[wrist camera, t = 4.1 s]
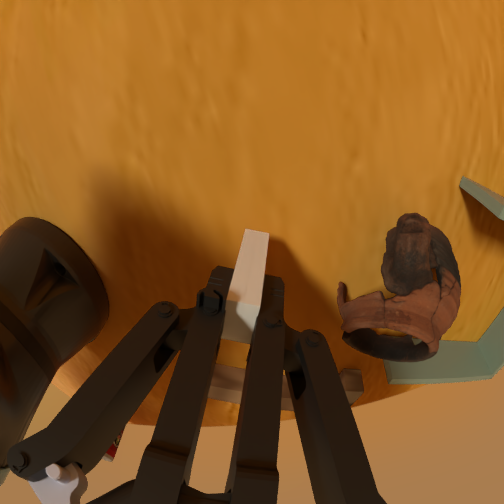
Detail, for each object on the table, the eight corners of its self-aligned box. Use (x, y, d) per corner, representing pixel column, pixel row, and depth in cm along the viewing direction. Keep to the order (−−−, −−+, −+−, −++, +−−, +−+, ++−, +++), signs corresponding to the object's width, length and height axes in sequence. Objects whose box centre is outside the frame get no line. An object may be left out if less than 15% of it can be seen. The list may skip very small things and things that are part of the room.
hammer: (207, 384, 31) (202, 405, 29) (210, 347, 27) (204, 371, 24) (333, 402, 31) (334, 422, 29) (360, 368, 27) (363, 391, 24)
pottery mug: (454, 283, 20) (443, 372, 17) (360, 276, 26) (336, 356, 22) (467, 173, 13) (480, 295, 9) (329, 175, 18) (289, 277, 14)
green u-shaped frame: (378, 340, 24) (388, 384, 20) (462, 176, 15) (503, 205, 11) (477, 346, 24) (491, 378, 20) (551, 228, 15) (579, 255, 11)
